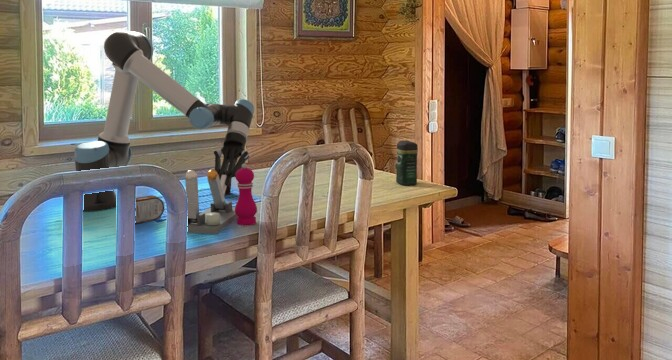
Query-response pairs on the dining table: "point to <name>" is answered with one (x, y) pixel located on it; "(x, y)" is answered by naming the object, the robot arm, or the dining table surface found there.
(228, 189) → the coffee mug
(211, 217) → the push button
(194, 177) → the toggle lever ivory
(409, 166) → the coffee jar
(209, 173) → the toggle lever orange
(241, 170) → the pepper mill
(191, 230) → the switch panel
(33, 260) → the dining table surface
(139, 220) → the tin
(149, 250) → the dining table surface
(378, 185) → the dining table surface
